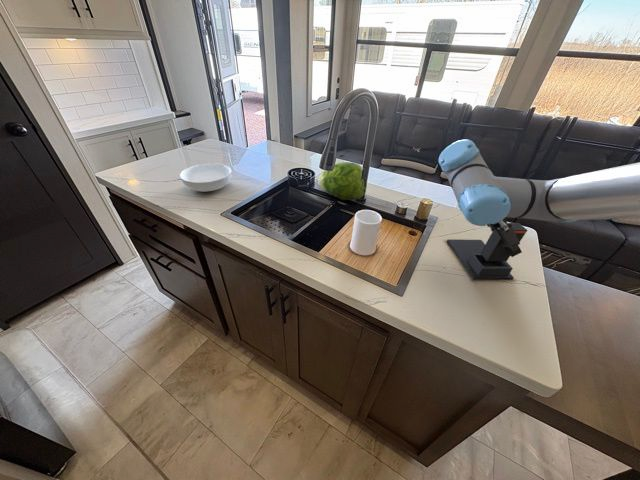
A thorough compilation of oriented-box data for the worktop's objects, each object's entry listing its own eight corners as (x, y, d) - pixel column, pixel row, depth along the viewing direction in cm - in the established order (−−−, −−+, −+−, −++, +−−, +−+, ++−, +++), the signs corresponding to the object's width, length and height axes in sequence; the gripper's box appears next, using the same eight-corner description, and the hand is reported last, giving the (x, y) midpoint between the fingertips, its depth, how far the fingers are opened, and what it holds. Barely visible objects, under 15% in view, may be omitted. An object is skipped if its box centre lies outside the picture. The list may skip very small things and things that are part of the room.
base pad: (512, 280, 75) (519, 270, 72) (473, 279, 74) (478, 270, 72) (479, 241, 89) (484, 232, 86) (446, 241, 88) (450, 232, 86)
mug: (354, 231, 91) (359, 202, 83) (378, 237, 89) (385, 207, 81) (347, 252, 82) (351, 221, 74) (373, 258, 80) (380, 227, 72)
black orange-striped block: (506, 261, 73) (527, 230, 66) (486, 261, 73) (505, 230, 66) (499, 253, 76) (519, 222, 69) (480, 253, 75) (497, 222, 69)
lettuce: (332, 188, 123) (323, 159, 114) (374, 185, 112) (367, 152, 103) (318, 207, 113) (307, 177, 104) (363, 206, 102) (354, 172, 93)
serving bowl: (237, 176, 122) (235, 163, 118) (228, 198, 106) (225, 182, 102) (193, 176, 121) (189, 162, 117) (176, 197, 104) (171, 182, 100)
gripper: (450, 190, 69) (482, 238, 81) (483, 224, 56) (516, 276, 67) (477, 172, 66) (507, 224, 78) (519, 204, 53) (547, 262, 65)
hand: (511, 248), depth 72 cm, fingers closed on black orange-striped block, 3 cm apart
